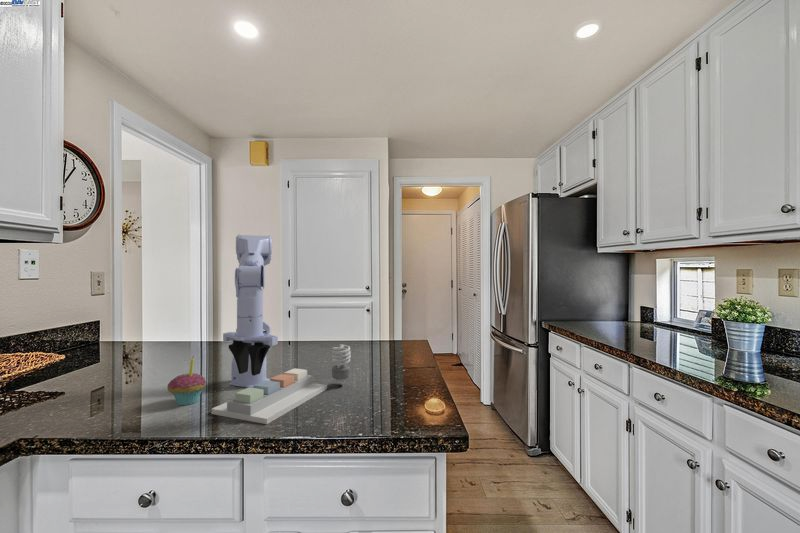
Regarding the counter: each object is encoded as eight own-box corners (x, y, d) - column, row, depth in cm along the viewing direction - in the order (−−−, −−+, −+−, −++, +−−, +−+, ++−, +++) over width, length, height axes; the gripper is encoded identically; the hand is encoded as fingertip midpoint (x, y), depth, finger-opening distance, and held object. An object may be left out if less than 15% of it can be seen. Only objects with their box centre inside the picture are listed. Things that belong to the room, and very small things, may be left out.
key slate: (253, 394, 91) (253, 385, 91) (265, 388, 95) (265, 380, 95) (268, 396, 89) (268, 387, 89) (279, 390, 94) (279, 382, 94)
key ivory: (284, 380, 102) (284, 372, 102) (294, 375, 106) (294, 368, 106) (297, 382, 101) (297, 374, 101) (307, 377, 105) (307, 369, 105)
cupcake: (213, 398, 96) (213, 352, 96) (185, 410, 88) (185, 360, 88) (188, 394, 99) (189, 350, 99) (159, 405, 91) (159, 357, 91)
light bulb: (346, 388, 104) (347, 346, 104) (328, 387, 105) (328, 345, 105) (353, 382, 110) (353, 342, 110) (335, 381, 111) (335, 341, 111)
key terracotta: (269, 386, 97) (270, 378, 97) (280, 381, 101) (280, 373, 101) (283, 388, 95) (283, 380, 95) (294, 383, 99) (294, 375, 99)
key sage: (235, 402, 85) (235, 393, 85) (248, 396, 89) (248, 387, 89) (250, 405, 84) (250, 395, 84) (263, 398, 88) (263, 389, 88)
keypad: (211, 413, 86) (211, 399, 86) (280, 382, 110) (280, 371, 110) (266, 424, 81) (266, 408, 81) (327, 389, 104) (327, 377, 104)
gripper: (212, 316, 85) (212, 374, 85) (263, 320, 80) (262, 381, 80) (235, 313, 92) (235, 367, 92) (283, 316, 87) (283, 373, 87)
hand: (249, 373), depth 87 cm, fingers open, 3 cm apart
